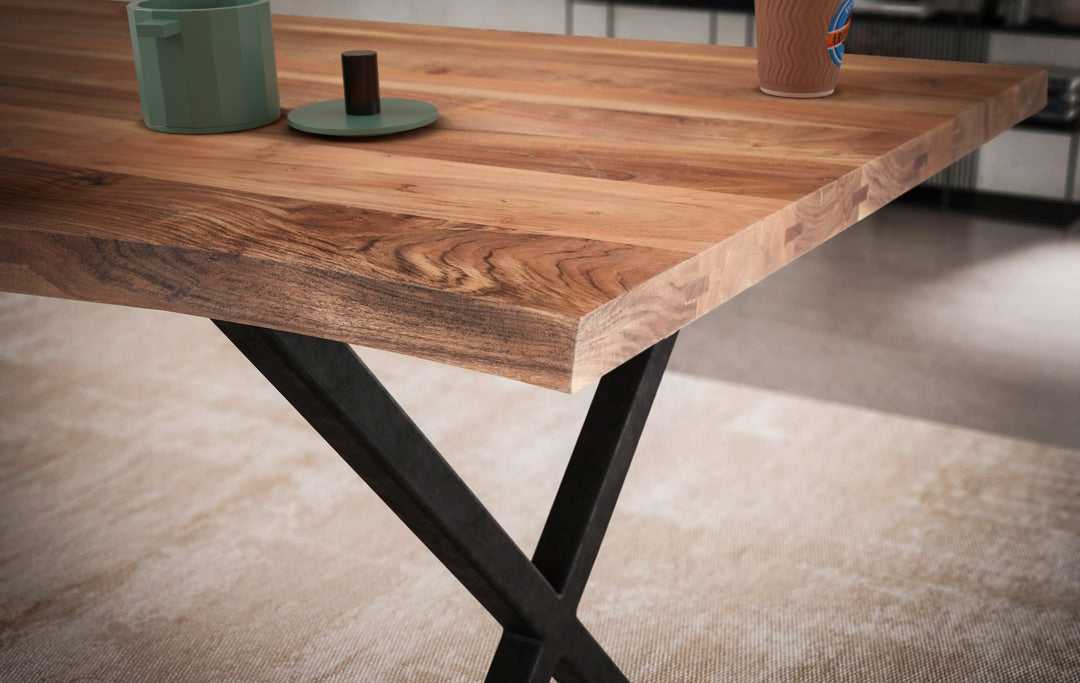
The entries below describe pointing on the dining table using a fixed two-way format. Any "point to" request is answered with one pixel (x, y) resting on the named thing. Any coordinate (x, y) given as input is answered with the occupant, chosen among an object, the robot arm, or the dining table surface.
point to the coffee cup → (801, 45)
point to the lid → (362, 105)
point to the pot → (205, 64)
